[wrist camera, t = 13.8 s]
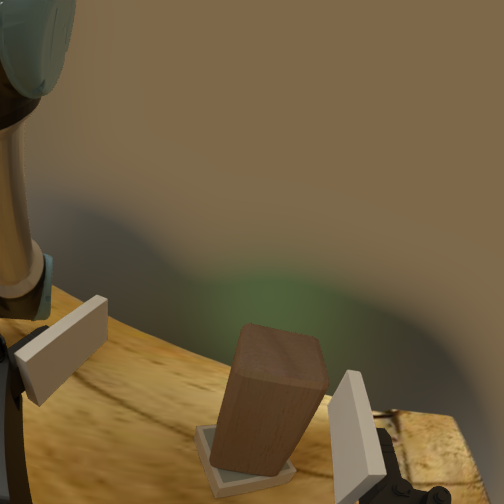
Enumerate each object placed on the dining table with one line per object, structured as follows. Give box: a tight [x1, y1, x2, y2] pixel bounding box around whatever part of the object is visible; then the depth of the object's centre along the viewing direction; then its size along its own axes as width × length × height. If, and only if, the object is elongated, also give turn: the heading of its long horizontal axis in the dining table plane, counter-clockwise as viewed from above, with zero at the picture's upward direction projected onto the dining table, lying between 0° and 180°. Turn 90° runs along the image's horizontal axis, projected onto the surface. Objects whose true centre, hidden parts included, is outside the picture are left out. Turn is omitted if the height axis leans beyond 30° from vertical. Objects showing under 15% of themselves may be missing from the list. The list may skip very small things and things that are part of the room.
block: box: [209, 323, 329, 477], centre depth 33 cm, size 10×10×20 cm
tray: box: [194, 425, 297, 499], centre depth 36 cm, size 12×12×4 cm
